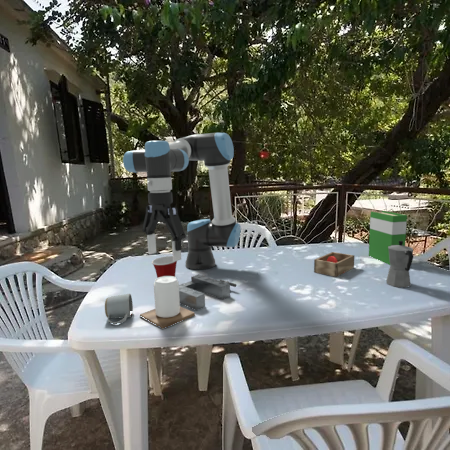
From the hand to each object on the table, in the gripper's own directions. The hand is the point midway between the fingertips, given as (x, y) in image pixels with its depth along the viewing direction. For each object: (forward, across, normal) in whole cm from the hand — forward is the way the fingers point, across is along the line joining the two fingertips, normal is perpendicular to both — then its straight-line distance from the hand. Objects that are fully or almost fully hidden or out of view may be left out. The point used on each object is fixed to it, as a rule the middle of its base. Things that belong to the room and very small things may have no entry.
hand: (164, 256), depth 109 cm
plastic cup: (+21, -24, +16) cm, 36 cm away
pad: (+21, 0, 0) cm, 21 cm away
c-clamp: (+21, -5, +20) cm, 30 cm away
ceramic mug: (+21, -11, -12) cm, 26 cm away
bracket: (+22, +18, +80) cm, 85 cm away
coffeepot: (+21, +48, +80) cm, 95 cm away
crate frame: (+21, +19, +82) cm, 86 cm away
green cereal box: (+22, +31, +114) cm, 120 cm away
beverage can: (+20, 0, 0) cm, 20 cm away
